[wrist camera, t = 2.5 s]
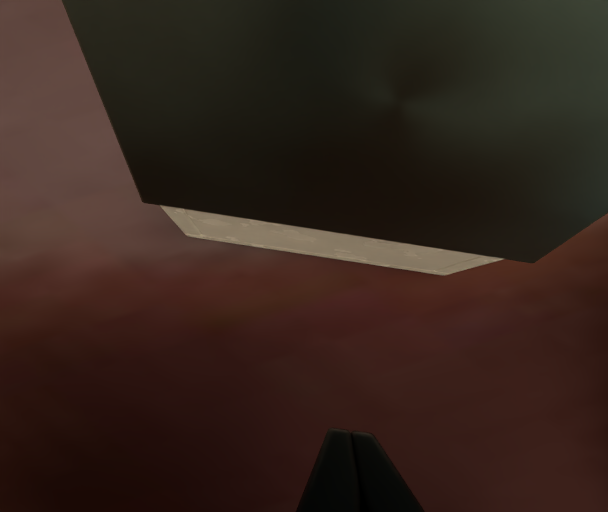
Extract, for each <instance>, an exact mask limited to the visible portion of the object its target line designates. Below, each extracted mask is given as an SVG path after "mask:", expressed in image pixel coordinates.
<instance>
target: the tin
mask: <svg viewBox="0 0 608 512" xmlns="http://www.w3.org/2000/svg"><path fill="white" fill-rule="evenodd" d="M159 206H160V207H161V208H162V209H163V210H164V211H165V212H166V213H167V215H168V216H169V217H170V218H171V219H172V220H173V221H174V222H175V223H176V224H177V226H178V227H179V228H180V229H181V230H182V231H183V232H184V234H185V235H186V236H189V237H195V238H202V239H208V240H215V241H221V242H228V243H234V244H241V245H248V246H254V247H261V248H267V249H274V250H280V251H287V252H293V253H300V254H306V255H313V256H320V257H326V258H333V259H339V260H346V261H352V262H359V263H365V264H372V265H379V266H385V267H392V268H398V269H405V270H411V271H418V272H424V273H431V274H438V275H447V274H451V273H454V272H458V271H462V270H466V269H469V268H473V267H477V266H480V265H484V264H488V263H492V262H495V261H499V260H503V259H502V258H495V257H489V256H482V255H476V254H469V253H463V252H457V251H450V250H444V249H437V248H431V247H424V246H418V245H412V244H405V243H399V242H392V241H386V240H380V239H373V238H367V237H360V236H354V235H347V234H341V233H335V232H328V231H322V230H315V229H309V228H302V227H296V226H290V225H283V224H277V223H270V222H264V221H258V220H251V219H245V218H238V217H232V216H225V215H219V214H213V213H206V212H200V211H193V210H187V209H180V208H174V207H168V206H161V205H159Z"/></svg>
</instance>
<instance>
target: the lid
mask: <svg viewBox="0 0 608 512" xmlns="http://www.w3.org/2000/svg"><path fill="white" fill-rule="evenodd" d="M62 2H63V4H64V7H65V9H66V12H67V14H68V17H69V19H70V22H71V24H72V27H73V29H74V32H75V34H76V37H77V39H78V42H79V45H80V47H81V50H82V52H83V55H84V57H85V60H86V62H87V65H88V67H89V70H90V72H91V75H92V77H93V80H94V82H95V85H96V87H97V90H98V92H99V95H100V97H101V100H102V102H103V105H104V107H105V110H106V112H107V115H108V117H109V120H110V122H111V125H112V127H113V130H114V132H115V135H116V137H117V140H118V142H119V145H120V147H121V150H122V152H123V155H124V157H125V160H126V162H127V165H128V167H129V170H130V172H131V175H132V177H133V180H134V182H135V185H136V187H137V190H138V192H139V195H140V197H141V200H142V202H144V203H148V204H155V205H161V206H168V207H174V208H180V209H187V210H193V211H200V212H206V213H213V214H219V215H225V216H232V217H238V218H245V219H251V220H258V221H264V222H270V223H277V224H283V225H290V226H296V227H302V228H309V229H315V230H322V231H328V232H335V233H341V234H347V235H354V236H360V237H367V238H373V239H380V240H386V241H392V242H399V243H405V244H412V245H418V246H424V247H431V248H437V249H444V250H450V251H457V252H463V253H469V254H476V255H482V256H489V257H495V258H502V259H508V260H514V261H521V262H527V263H535V262H536V261H538V260H539V259H541V258H542V257H544V256H545V255H547V254H548V253H549V252H551V251H552V250H554V249H555V248H557V247H558V246H560V245H561V244H563V243H564V242H566V241H567V240H569V239H570V238H571V237H573V236H574V235H576V234H577V233H579V232H580V231H582V230H583V229H585V228H586V227H588V226H589V225H591V224H592V223H593V222H595V221H596V220H598V219H599V218H601V217H602V216H604V215H605V214H607V213H608V0H62Z"/></svg>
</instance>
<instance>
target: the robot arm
mask: <svg viewBox="0 0 608 512" xmlns="http://www.w3.org/2000/svg"><path fill="white" fill-rule="evenodd" d="M296 512H425V511H424V510H423V508H422V507H421V505H420V504H419V502H418V501H417V499H416V498H415V496H414V495H413V493H412V492H411V490H410V489H409V487H408V486H407V484H406V483H405V481H404V480H403V478H402V477H401V475H400V474H399V472H398V471H397V469H396V468H395V466H394V465H393V463H392V461H391V460H390V458H389V457H388V455H387V454H386V452H385V451H384V449H383V448H382V446H381V445H380V443H379V442H378V440H377V439H376V437H375V436H374V435H373V434H372V433H368V432H360V431H352V432H351V433H350V432H349V431H348V430H345V429H337V428H329V429H328V431H327V433H326V436H325V438H324V441H323V444H322V446H321V449H320V451H319V454H318V456H317V459H316V461H315V464H314V467H313V469H312V472H311V474H310V477H309V479H308V482H307V484H306V487H305V490H304V492H303V495H302V497H301V500H300V502H299V505H298V508H297V510H296Z"/></svg>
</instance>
